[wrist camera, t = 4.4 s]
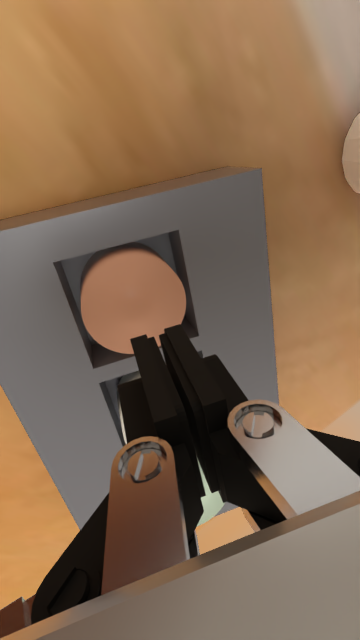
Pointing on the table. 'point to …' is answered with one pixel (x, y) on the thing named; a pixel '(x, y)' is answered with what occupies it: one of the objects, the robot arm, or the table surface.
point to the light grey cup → (352, 155)
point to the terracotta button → (129, 296)
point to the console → (109, 366)
